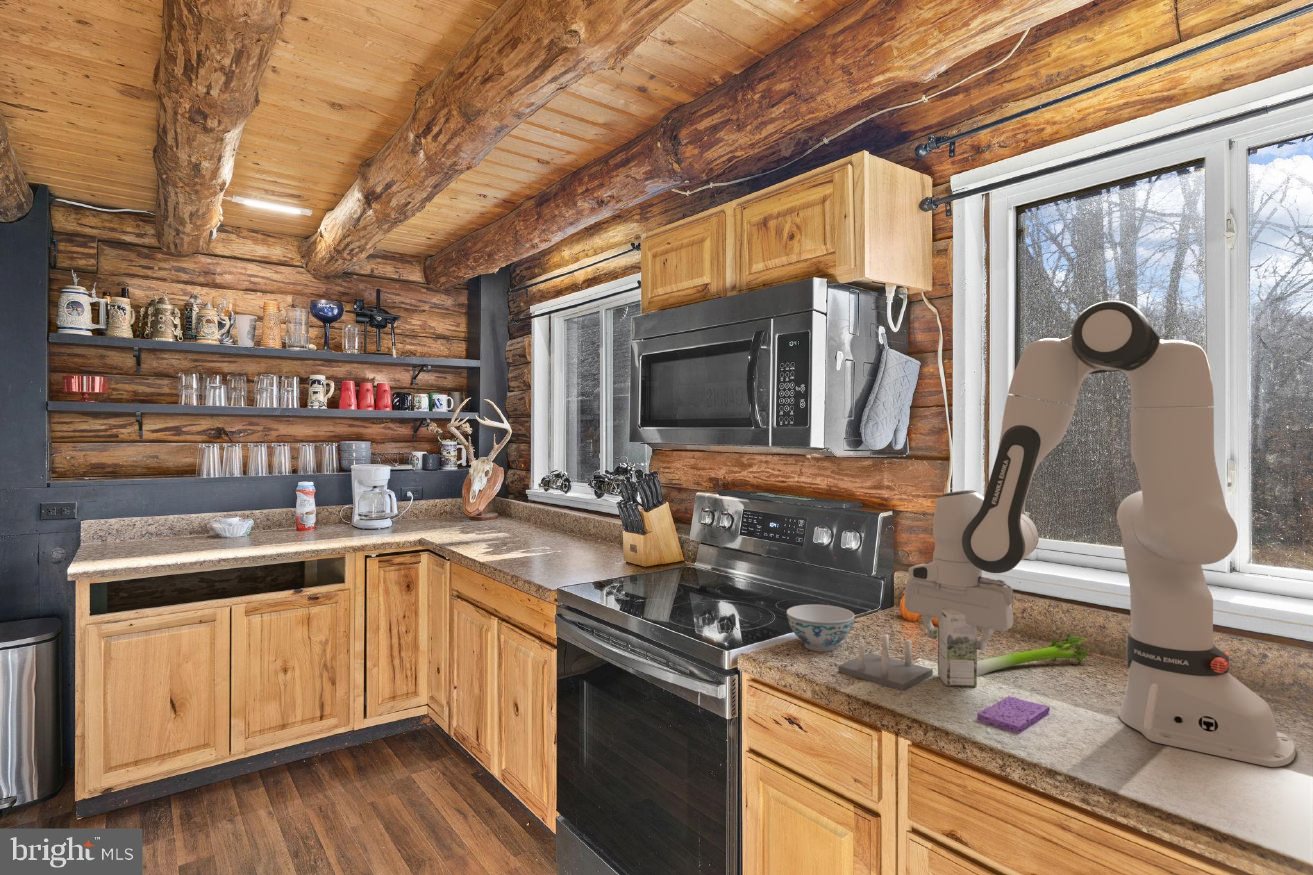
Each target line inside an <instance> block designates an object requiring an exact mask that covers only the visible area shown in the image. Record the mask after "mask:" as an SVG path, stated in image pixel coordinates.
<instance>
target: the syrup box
mask: <svg viewBox="0 0 1313 875" xmlns="http://www.w3.org/2000/svg"><path fill="white" fill-rule="evenodd" d="M942 609H943V610H942V618H941V619H940V618H937V629H938V633H937V634H938V638H937V675H938V678H940V679H941V681H942V682H943V683H944V684H945V685H946V686H947V687H970V686H971V688H972V687H977V686H978V685H977V682H978V680H977V679H978V678H977V677H978V676H977V661H978V649H976V648H975V646H976V644H975V642H976V640H978V626H973V625H968V624H966V621H965V615H966V614H963V613H961V612H958V611H954V610H950V609H945V608H942Z"/></svg>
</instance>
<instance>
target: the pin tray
mask: <svg viewBox="0 0 1313 875" xmlns="http://www.w3.org/2000/svg"><path fill="white" fill-rule="evenodd" d="M889 640H890V639H889V635H888V634H882V649H881V650H880V651H881V652H880V654H881V655H880V654H877V653H876V654H875V653H873V652H869V653H867V654H866V645H865V644H863V643H858V657H856V658H853V659H852V660H850V661H847V662H845V663H842V664H839V665H838V666H837V667H838V672H839V673H842V674H845V675H848V676H852V677H855V678H859V679H862V680H864V681H865V680H866V681H868V682H871V683H876V684H879V685H882V686H886V687H889V688H892V689H896V690H900V691H904V690H907V689H909V688H911V687H913V686H914V685H916V684H919V683H920V682H922V681H924V680H926V679H929V678H930V677H932V676H933V671H934V670H933V668H929V667H925V666H921V665H918V664H914V663H912V640H909V639H905V640H904V661H903V660H899V659H895V658H891V657H889V654H890V652H889V651H890V650H889V644H890V642H889Z"/></svg>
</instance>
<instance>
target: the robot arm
mask: <svg viewBox="0 0 1313 875" xmlns="http://www.w3.org/2000/svg"><path fill="white" fill-rule="evenodd" d="M1071 328H1072V329H1071V331H1070V335H1069V336H1068V337H1065V338H1053V337H1052V338H1051V337H1050V338H1048V337H1047V338H1041V339H1037V340H1034V341H1032V342H1031V343H1029V344H1028V345H1027V346H1026V347H1025V348H1024V350H1023V352H1022V354H1021V355H1020V358H1019V361H1018V363H1017V366H1016V368H1015V370H1014V373H1013V375H1012V379H1011V381H1010V384H1009V388H1008V393H1007V396H1006V400H1005V405H1004V411H1003V416H1002V423H1001V432H1000V437H999V441H998V443H999V444H998V449H997V454H996V457H995V460H994V463H993V468H992V471H991V474H990V478H989V481H988V485H987V488H986V491H985V495H984V496H983V495H982V494H981V493H979V491H976V490H973V489H969V490H959V491H958V490H957V491H952V492H946V493H943V494H942V495H940V496H939V497H938V498H937V499H936V502H935V505H934V506H935V507H934V512H933V513H934V514H933V528H932V531H933V533H932V534H933V535H932V536H933V538H934V544H935V545H934V551H933V553H932V561H927V562H923V563H921V564H920V563H919V564H915V565H913V566H910V567H909V568H908V571H907V572H908V573H907V574H908V577H909V579H908V580H907V581H906V584H905V587H904V589H905V590H904V601H903V602H904V607H905V610H907V612H908V613H912V614H917V615H921V621H922V624H923V625H924V627H925V629H926V638H928V639H932V640H936V639H937V640H938V628H935V627H934V625H933V622H932V620H933V619H934V618H936V619H938V618H940V619H941V618H942V610H943V609H942V608H945V609H950V610H954V611H958V612H961V613H963V614H966V615H965V621H966V624H968V625H973V626H977V628H978V627H979V628H981V633H982V634H983V635H982V636H981V638H977V640H976V642H975V644H976V646H975V648H976V649H977V651H982V652H984V651H986V650H987V649H988V641H989V639H990V638H991V637H992V635H993V634H994V631H996V632H997V631H998V632H1006V631H1009V630H1010V629H1011V628H1012V627H1013V626H1014V612H1013V604H1012V603H1013V601H1014V591H1013V588H1012V586H1010V584H1008V583H1006V582H1005V580H1001V579H992V578H990V577H984V576H983V572H986V573H989V574H1002V573H1007V572H1010V571H1011V570H1013V569H1014V568H1016V567H1017V565H1019V564H1020V562H1021V561H1023V560H1024V559H1026V558H1027V557H1028V556H1030V555H1031V553H1033V552H1034V551H1035V549H1036V547H1038V543H1039V531H1038V527H1037V525H1036V524H1035V522H1034V521H1033V519H1031V518H1030V517H1029V516H1027V515H1026V514H1024V513H1023V511H1024V508H1025V507H1024V506H1025V503H1026V500H1027V496H1028V493H1029V489H1030V486H1031V482H1032V480H1033V476H1034V475H1035V472H1036V470H1037V468H1038V467H1039V465H1040V463H1041V462H1042V460H1043V459H1045V458H1046V456H1047V455H1048V454H1049V453H1050V452H1052V451H1053V450H1054V448H1056V447H1057V446H1058V445H1059V444H1061V442H1062V441H1063V439H1064V437H1065V435H1066V432H1067V430H1068V429H1069V426H1070V425H1071V421H1072V418H1073V415H1074V412H1075V408H1076V405H1077V401H1078V396H1079V392H1080V389H1081V386H1082V384H1083V382H1084V380H1085V378H1086V377H1087V376H1088V375H1092V374H1100V373H1101V374H1103V373H1113V372H1119V371H1121V372H1122V373H1124V374H1125V375H1126V377H1127V378H1128V382H1129V385H1130V408H1131V409H1130V455H1131V458H1132V460H1133V462H1134V465H1135V468H1136V472H1137V476H1138V479H1139V480H1138V481H1139V485H1140V490H1139V491H1136V492H1134V493H1131V494H1130V495H1128V496H1126V497H1125V498H1124V499H1123V500H1122V501H1121V502H1120V504H1119V506H1118V508H1117V512H1116V521H1117V524H1118V527H1119V529H1120V534H1121V539H1122V540H1121V541H1122V548H1123V554H1124V555H1123V556H1124V560H1125V565H1126V570H1127V575H1128V583H1129V594H1130V633H1129V634H1128V635H1127V641H1126V646H1125V647H1126V648H1125V650H1126V655H1125V657H1126V659H1125V660H1126V664H1127V665H1126V666H1127V668H1128V674H1127V682H1126V686H1125V687H1126V688H1125V691H1124V697H1123V700H1122V704H1121V705H1120V706H1121V707H1120V709H1119V711H1118V714H1117V715H1118V718H1119V719H1120V721H1122V722H1123V723H1125V724H1126V725H1127V726H1129V727H1130V728H1133V729H1135V730H1136V731H1138V732H1140V733H1141V734H1142V735H1143V736H1144V737H1145V738H1146V739H1148V740H1149V741H1151V742H1154V743H1156V744H1162V745H1167V746H1171V747H1175V748H1180V749H1185V750H1190V751H1195V752H1199V753H1205V754H1208V755H1213V756H1218V757H1222V758H1226V759H1232V760H1235V761H1240V762H1244V763H1245V762H1246V763H1250V764H1255V765H1258V766H1259V765H1260V766H1264V767H1269V768H1270V767H1271V768H1277V767H1283V766H1286V765H1289V764H1290V763H1292V762H1293V761H1294V759H1295V758H1296V753H1297V752H1296V744H1295V742H1294V741H1293V740H1292V739H1291V738H1290V737H1289V736H1287V735H1286V734H1285V733H1282V732H1280V731H1277V726H1276V721H1275V718H1274V715H1273V712H1272V710H1271V708H1270V705H1269V704H1268V703H1267V702H1266V700H1265V699H1263V698H1262V697H1260V696H1259V695H1258V694H1256V693H1255V692H1254V691H1252V690H1251V689H1250V688H1249V687H1248V686H1246V685H1245V684H1243V683H1242V682H1241V681H1240V680H1238V678H1236V677H1235V676H1233V675H1231V673H1229V671H1230V658H1229V655H1230V653H1229V651H1228V650H1226V651H1225V652H1224V651H1222V650H1221V649H1219V648H1218V647H1216V646H1215V645H1214V644H1213V643H1214V599H1213V595H1212V592H1211V591H1210V589H1209V586H1208V583H1207V581H1206V578H1205V574H1204V570H1203V565H1204V566H1205V565H1213V564H1215V563H1218V562H1220V561H1222V560H1224V559H1225V558H1226V557H1228V556H1229V555H1230V554H1231V553H1232V552H1233V550H1234V549H1235V547H1236V544H1237V542H1238V536H1239V535H1238V528H1237V524H1236V523H1235V521H1234V519H1233V518H1232V516H1231V515H1230V512H1229V511H1228V508H1227V505H1226V504H1227V503H1226V501H1225V497H1224V491H1223V488H1222V484H1221V480H1220V476H1219V471H1218V467H1217V462H1216V456H1215V428H1214V427H1215V424H1214V423H1215V417H1214V415H1215V414H1214V412H1215V410H1214V405H1215V403H1214V402H1215V401H1214V400H1215V399H1214V398H1215V397H1214V386H1213V380H1212V373H1211V367H1210V364H1209V361H1208V356H1207V353H1206V352H1205V350H1204V349H1203V348H1202V347H1201V346H1200V345H1198V344H1196V343H1194V342H1191V341H1187V340H1181V339H1167V340H1166V339H1161V338H1160V336H1159V334H1158V332H1157V331H1156V330H1155V329H1154V327H1153V326H1152V324H1151V323H1150V322H1149V320H1148V318H1147V317H1146V316H1145V314H1144V313H1143V312H1142V311H1141V310H1139V309H1138V308H1137V307H1135V306H1134V305H1133V304H1130V303H1128V302H1125V301H1121V300H1104V301H1100V302H1097V303H1095V304H1092V305H1091V306H1089V307H1087V308H1085V309H1084V310H1083V311H1082V312H1080V313H1079V315H1078V316H1077V317H1076V319H1075V321H1074V322H1073V325H1072V327H1071Z"/></svg>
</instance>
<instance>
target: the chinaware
mask: <svg viewBox="0 0 1313 875" xmlns="http://www.w3.org/2000/svg"><path fill="white" fill-rule="evenodd" d="M786 617H787V620H788V624H789V626H790V629H791V630H792V632H793V633H794V634H795V636H796V637H797V639H799V640H800V641H801V642H803V643H804V646H805V648H807V649H808V650H810V651H816V652H830V651H833V650H835V649H836V645H838V644H840V643H841V642H842V641H843V640H845V639H846V637H847V636H848V635H849V633H850V632H851V629H852V627H853V625H854V620H855V613H854V612H852V610H850V609H846V608H844V607H841V606H835V605H827V604H799V605H794V606H792V607H789V608H788V609H786Z"/></svg>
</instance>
